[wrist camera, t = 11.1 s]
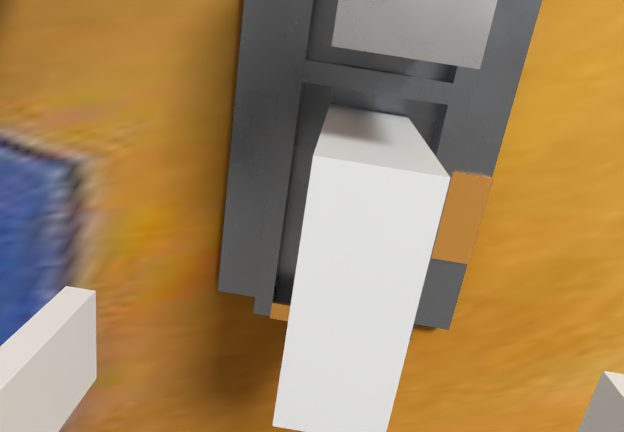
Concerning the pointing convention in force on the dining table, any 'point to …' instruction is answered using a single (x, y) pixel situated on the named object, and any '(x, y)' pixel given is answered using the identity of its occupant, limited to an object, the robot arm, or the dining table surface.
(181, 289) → the dining table surface
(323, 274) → the block
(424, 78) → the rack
